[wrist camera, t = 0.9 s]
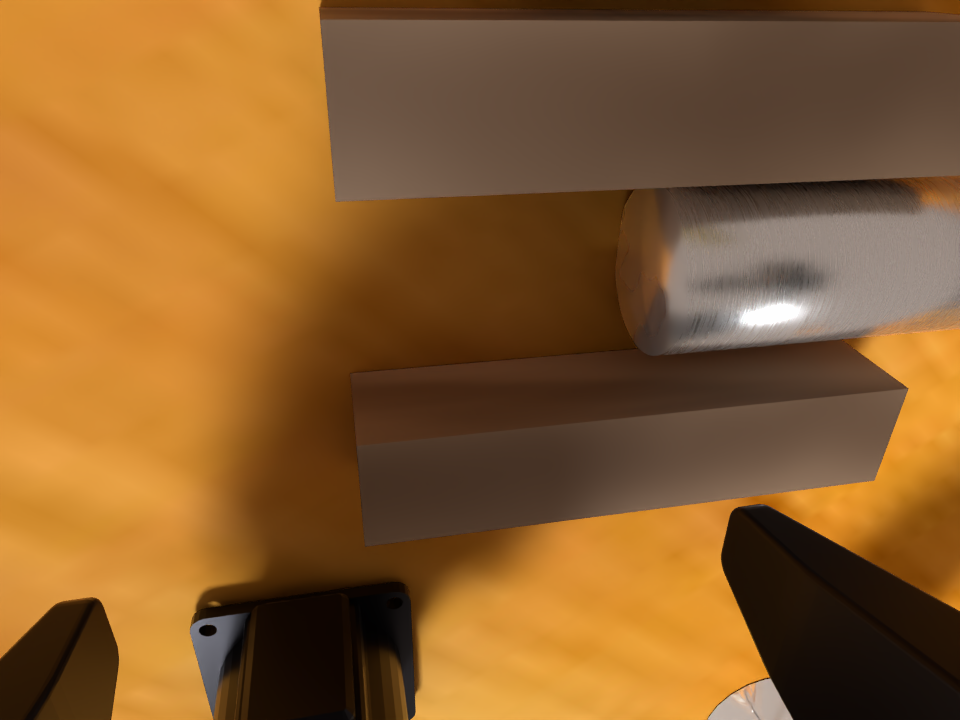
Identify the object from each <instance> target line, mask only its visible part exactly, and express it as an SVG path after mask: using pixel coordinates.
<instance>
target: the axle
mask: <svg viewBox="0 0 960 720" xmlns="http://www.w3.org/2000/svg"><path fill="white" fill-rule="evenodd" d="M615 279H616V289H617V296H618V302H619V306H620V310H621V314H622V318H623V321H624V324H625V326H626V329H627V331H628V333H629V335H630V337H631V339H632V340H633V342H634V343H635V345H636V346H637V347H638V348H639V349H640V350H641V351H642V352H644V353H645V354H647V355H651V356H658V355H669V354H681V353H692V352H703V351H715V350H726V349H737V348H749V347H760V346H771V345H783V344H794V343H805V342H817V341H828V340H839V339H851V338H862V337H873V336H885V335H896V334H907V333H919V332H930V331H941V330H953V329H960V176H936V177H912V178H888V179H864V180H840V181H817V182H793V183H769V184H745V185H721V186H697V187H673V188H650V189H635V190H634V191H633V193H632V194H631V195H630V197H629V199H628V201H627V202H626V205H625V207H624V210H623V212H622V217H621V225H620V234H619V242H618V251H617V259H616V267H615Z"/></svg>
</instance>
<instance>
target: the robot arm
mask: <svg viewBox="0 0 960 720" xmlns="http://www.w3.org/2000/svg"><path fill="white" fill-rule="evenodd" d="M721 562H722V567H723V571H724V573H725V576H726V578H727V581H728V583H729V585H730V587H731V590H732V592H733V594H734V597H735V599H736V601H737V604H738V606H739V608H740V611H741V613H742V615H743V617H744V620H745V622H746V624H747V627H748V629H749V631H750V634H751V636H752V638H753V641H754V643H755V645H756V647H757V650H758V652H759V654H760V657H761V659H762V661H763V663H764V666H765V668H766V670H767V672H768V674H769V676H770V678H771V680H772V682H773V684H774V686H775V688H776V690H777V692H778V694H779V695H780V697H781V699H782V701H783V703H784V705H785V706H786V708H787V710H788V712H789V713H790V715H791V717H792V719H793V720H960V611H958V610H957V609H955V608H953V607H951V606H949V605H948V604H946V603H944V602H942V601H940V600H939V599H937V598H935V597H933V596H931V595H929V594H928V593H926V592H924V591H922V590H920V589H919V588H917V587H915V586H913V585H911V584H909V583H908V582H906V581H904V580H902V579H900V578H899V577H897V576H895V575H893V574H891V573H889V572H888V571H886V570H884V569H882V568H880V567H879V566H877V565H875V564H873V563H871V562H869V561H868V560H866V559H864V558H862V557H860V556H859V555H857V554H855V553H853V552H851V551H849V550H848V549H846V548H844V547H842V546H840V545H839V544H837V543H835V542H833V541H831V540H829V539H828V538H826V537H824V536H822V535H820V534H819V533H817V532H815V531H813V530H811V529H810V528H808V527H806V526H804V525H802V524H800V523H799V522H797V521H795V520H793V519H791V518H790V517H788V516H786V515H784V514H782V513H780V512H779V511H777V510H775V509H773V508H771V507H769V506H767V505H764V504H757V505H750V506H743V507H738V508H735V509H734V510H733V511H732V513H731V515H730V518H729V522H728V527H727V531H726V535H725V539H724V544H723V548H722V553H721ZM391 598H396V599H391ZM206 624H207V625H212V626H206ZM190 634H191V638H192V642H193V646H194V649H195V653H196V657H197V660H198V664H199V668H200V671H201V675H202V679H203V682H204V686H205V690H206V693H207V697H208V701H209V705H210V708H211V712H212V716H213V720H410V719H412V718H413V717H414V715H415V689H414V667H413V644H412V621H411V600H410V594H409V589H408V587H407V586H406V585H405V584H403V583H400V582H390V583H383V584H376V585H368V586H361V587H354V588H347V589H340V590H333V591H326V592H318V593H311V594H304V595H297V596H290V597H283V598H275V599H268V600H261V601H254V602H247V603H240V604H233V605H225V606H218V607H211V608H205V609H202V610H199V611H198V612H196V613H195V614H194V616H193V617H192V622H191V627H190ZM118 665H119V655H118V647H117V644H116V641H115V638H114V635H113V632H112V629H111V627H110V624H109V621H108V618H107V615H106V612H105V610H104V607H103V605H102V603H101V602H100V600H99V599H97V598H93V597H90V598H83V599H76V600H69V601H63V602H60V603H57V604H56V605H54V606H53V607H52V608H51V609H50V610H49V611H48V612H47V613H46V614H45V615H44V616H43V617H42V618H41V619H40V620H39V621H38V622H37V623H36V624H35V625H33V626H32V627H31V628H30V629H29V630H28V631H27V632H26V633H25V634H24V635H23V636H22V637H21V638H20V639H19V640H18V641H17V642H16V643H15V644H14V645H13V646H12V647H11V648H10V649H9V650H8V651H7V652H6V653H5V654H4V655H3V656H2V657H1V658H0V720H111V717H112V710H113V702H114V695H115V688H116V681H117V674H118Z"/></svg>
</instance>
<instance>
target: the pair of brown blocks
mask: <svg viewBox="0 0 960 720" xmlns="http://www.w3.org/2000/svg"><path fill="white" fill-rule="evenodd" d="M319 11H320V23H321V34H322V46H323V58H324V70H325V81H326V93H327V105H328V117H329V129H330V140H331V152H332V164H333V176H334V187H335V199H336V202H340V201H363V200H387V199H411V198H435V197H459V196H483V195H507V194H530V193H554V192H578V191H602V190H626V189H650V188H673V187H697V186H721V185H745V184H769V183H793V182H817V181H840V180H864V179H888V178H912V177H936V176H960V15H957V14H946V13H935V12H909V11H767V10H624V9H482V8H340V7H319ZM350 376H351V388H352V400H353V412H354V423H355V435H356V447H357V459H358V471H359V482H360V494H361V506H362V518H363V529H364V541H365V547H366V546H374V545H382V544H389V543H397V542H405V541H412V540H420V539H428V538H436V537H443V536H451V535H459V534H466V533H474V532H482V531H489V530H497V529H505V528H513V527H520V526H528V525H536V524H543V523H551V522H559V521H566V520H574V519H582V518H590V517H597V516H605V515H613V514H620V513H628V512H636V511H643V510H651V509H659V508H667V507H674V506H682V505H690V504H697V503H705V502H713V501H720V500H728V499H736V498H744V497H751V496H759V495H767V494H774V493H782V492H790V491H797V490H805V489H813V488H821V487H828V486H836V485H844V484H851V483H859V482H867V481H874V480H875V477H876V475H877V472H878V469H879V467H880V464H881V461H882V459H883V456H884V453H885V450H886V448H887V445H888V442H889V440H890V437H891V434H892V432H893V429H894V426H895V424H896V421H897V418H898V415H899V413H900V410H901V407H902V405H903V402H904V399H905V397H906V394H907V391H908V388H907V387H906V386H904V385H903V384H902V383H900V382H899V381H897V380H896V379H895V378H893V377H892V376H891V375H889V374H888V373H886V372H885V371H884V370H882V369H881V368H880V367H878V366H877V365H875V364H874V363H873V362H871V361H870V360H869V359H867V358H866V357H864V356H863V355H862V354H860V353H859V352H858V351H856V350H855V349H853V348H852V347H851V346H849V345H848V344H847V343H845V342H844V341H842V340H841V339H839V340H828V341H817V342H805V343H794V344H783V345H771V346H760V347H749V348H737V349H726V350H715V351H703V352H692V353H681V354H669V355H658V356H651V355H647V354H645V353H644V352H642V351H641V350H640V349H628V350H616V351H605V352H593V353H581V354H570V355H558V356H546V357H535V358H523V359H511V360H500V361H488V362H476V363H464V364H453V365H441V366H429V367H418V368H406V369H394V370H383V371H371V372H359V373H350Z"/></svg>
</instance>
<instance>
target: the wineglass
mask: <svg viewBox="0 0 960 720" xmlns="http://www.w3.org/2000/svg"><path fill="white" fill-rule="evenodd" d="M708 720H793V719H792V717H791V715H790V713H789V712H788V710H787V708H786V706H785V705H784V703H783V701H782V699H781V697H780V695H779V694H778V692H777V690H776V688H775V686H774V684H773V682H772V680H771V679H765V680H762V681H759V682H756V683H753V684H750V685H748V686H746V687H744V688H742V689H741V690H739V691H737V692H735V693H733V694H732V695H730V696H729V697H728V698H727V699H725V700H724V701H723V702H722V703H721V704H719V705H718V706H717V707H716V709H715V710H714V711H713V713H712V714H711V715H710V716H709V718H708Z"/></svg>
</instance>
